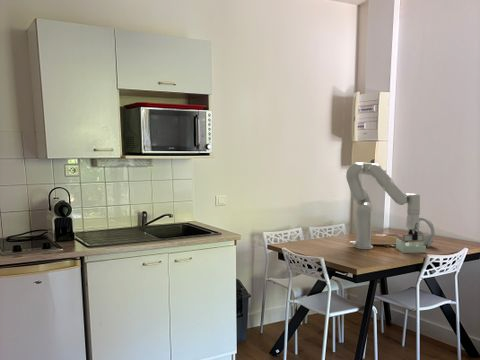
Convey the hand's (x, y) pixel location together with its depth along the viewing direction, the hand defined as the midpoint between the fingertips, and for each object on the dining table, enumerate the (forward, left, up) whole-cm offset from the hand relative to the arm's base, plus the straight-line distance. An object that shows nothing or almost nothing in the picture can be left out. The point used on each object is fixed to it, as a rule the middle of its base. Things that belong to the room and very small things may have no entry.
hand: (412, 238), depth 257 cm
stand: (0, +4, -9) cm, 9 cm away
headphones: (+15, +18, -9) cm, 25 cm away
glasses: (0, +5, -2) cm, 6 cm away
